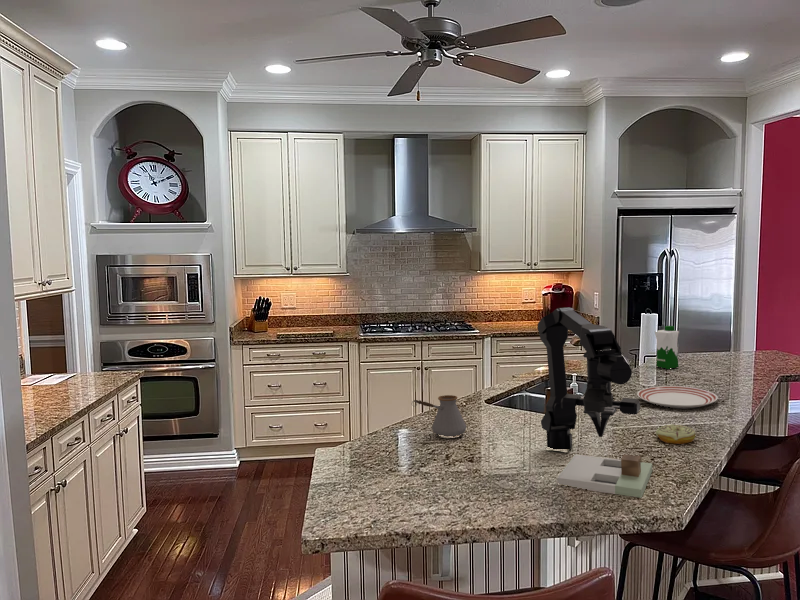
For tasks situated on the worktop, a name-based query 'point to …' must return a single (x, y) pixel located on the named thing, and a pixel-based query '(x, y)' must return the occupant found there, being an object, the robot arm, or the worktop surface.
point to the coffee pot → (446, 416)
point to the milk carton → (667, 347)
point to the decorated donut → (675, 434)
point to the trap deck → (604, 476)
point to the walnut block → (631, 465)
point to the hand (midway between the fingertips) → (600, 436)
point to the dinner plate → (677, 396)
